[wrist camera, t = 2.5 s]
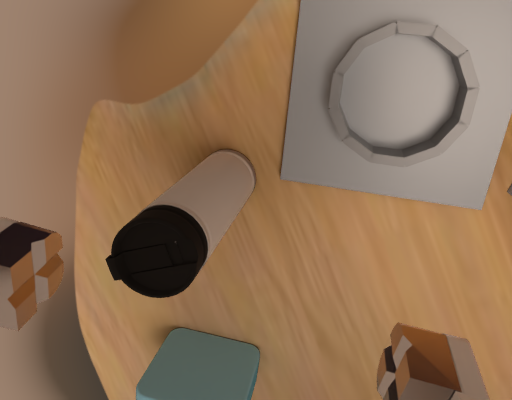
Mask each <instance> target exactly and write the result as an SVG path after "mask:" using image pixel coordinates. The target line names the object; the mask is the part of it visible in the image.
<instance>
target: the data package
mask: <svg viewBox="0 0 512 400" xmlns="http://www.w3.org/2000/svg"><path fill="white" fill-rule="evenodd" d="M259 358H260V352H259V350H258V349H257V348H256V347H255V346H254V345H251V344H248V343H244V342H240V341H235V340H231V339H227V338H223V337H219V336H215V335H211V334H207V333H203V332H199V331H194V330H190V329H186V328H177V329H174V330H172V331H171V332H170V333H169V335H168V336H167V338H166V339H165V341H164V343H163V344H162V346H161V347H160V349H159V351H158V352H157V354H156V355H155V357H154V359H153V360H152V362H151V363H150V365H149V367H148V368H147V370H146V371H145V373H144V375H143V376H142V378H141V379H140V381H139V383H138V384H137V387H136V400H251V397H252V393H253V390H254V386H255V383H256V378H257V372H258V365H259Z"/></svg>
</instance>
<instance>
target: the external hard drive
mask: <svg viewBox="0 0 512 400" xmlns="http://www.w3.org/2000/svg"><path fill="white" fill-rule="evenodd" d="M507 192H508V193H509V194H510V195H512V185H511V186H510V188H509V189H508V191H507Z"/></svg>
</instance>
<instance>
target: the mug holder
mask: <svg viewBox="0 0 512 400" xmlns="http://www.w3.org/2000/svg"><path fill="white" fill-rule="evenodd" d="M511 113H512V0H301V4H300V12H299V21H298V30H297V39H296V47H295V56H294V65H293V73H292V82H291V91H290V99H289V108H288V117H287V126H286V134H285V143H284V152H283V160H282V169H281V178H280V179H282V180H289V181H295V182H302V183H308V184H315V185H321V186H328V187H334V188H341V189H347V190H354V191H360V192H367V193H373V194H380V195H386V196H393V197H399V198H406V199H412V200H419V201H426V202H432V203H439V204H445V205H452V206H458V207H465V208H471V209H478V210H482V207H483V204H484V200H485V197H486V194H487V191H488V187H489V184H490V181H491V178H492V174H493V171H494V168H495V165H496V161H497V158H498V155H499V152H500V148H501V145H502V142H503V139H504V135H505V132H506V129H507V126H508V123H509V119H510V116H511Z"/></svg>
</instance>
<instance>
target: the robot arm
mask: <svg viewBox="0 0 512 400" xmlns="http://www.w3.org/2000/svg"><path fill="white" fill-rule="evenodd" d="M62 248H63V247H62V236H61V235H60V234H58V233H57V232H54V231H51V230H47V229H44V228H41V227H37V226H34V225H30V224H27V223H23V222H18V221H15V220H12V219H8V218H5V217H0V327H3V328H7V329H11V330H15V331H19V330H20V329H21V328H22V327H23V326H24V325H25V324H26V323H27V321H28V320H29V319H30V318H31V317H32V316H33V315H34V314H35V313H36V312H37V303H40V302H42V301H45V300H48V299H49V298H50V297H51V296H52V295H53V294H54V293H55V291H56V290H57V289H58V287H59V285H60V283H61V281H62V277H63V272H64V264H63V261H62V260H61V258H60V257H59V255H58V254H57V253H58V252H59V250H61V249H62ZM390 336H391V346H389V347H387V348H385V349H384V351H383V353H382V356H381V358H380V362H379V366H378V371H377V391H378V392H379V394H380V395H381V396H382V398H383V400H490V399H489V396H488V393H487V391H486V388H485V385H484V382H483V379H482V376H481V374H480V371H479V368H478V365H477V362H476V359H475V356H474V354H473V351H472V348H471V345H470V343H469V341H468V340H467V339H464V338H460V337H456V336H452V335H448V334H441V333H437V332H433V331H429V330H425V329H422V328H418V327H414V326H410V325H406V324H402V323H397V324H396V325H395V326H394V328H393V330H392V333H391V335H390Z"/></svg>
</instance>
